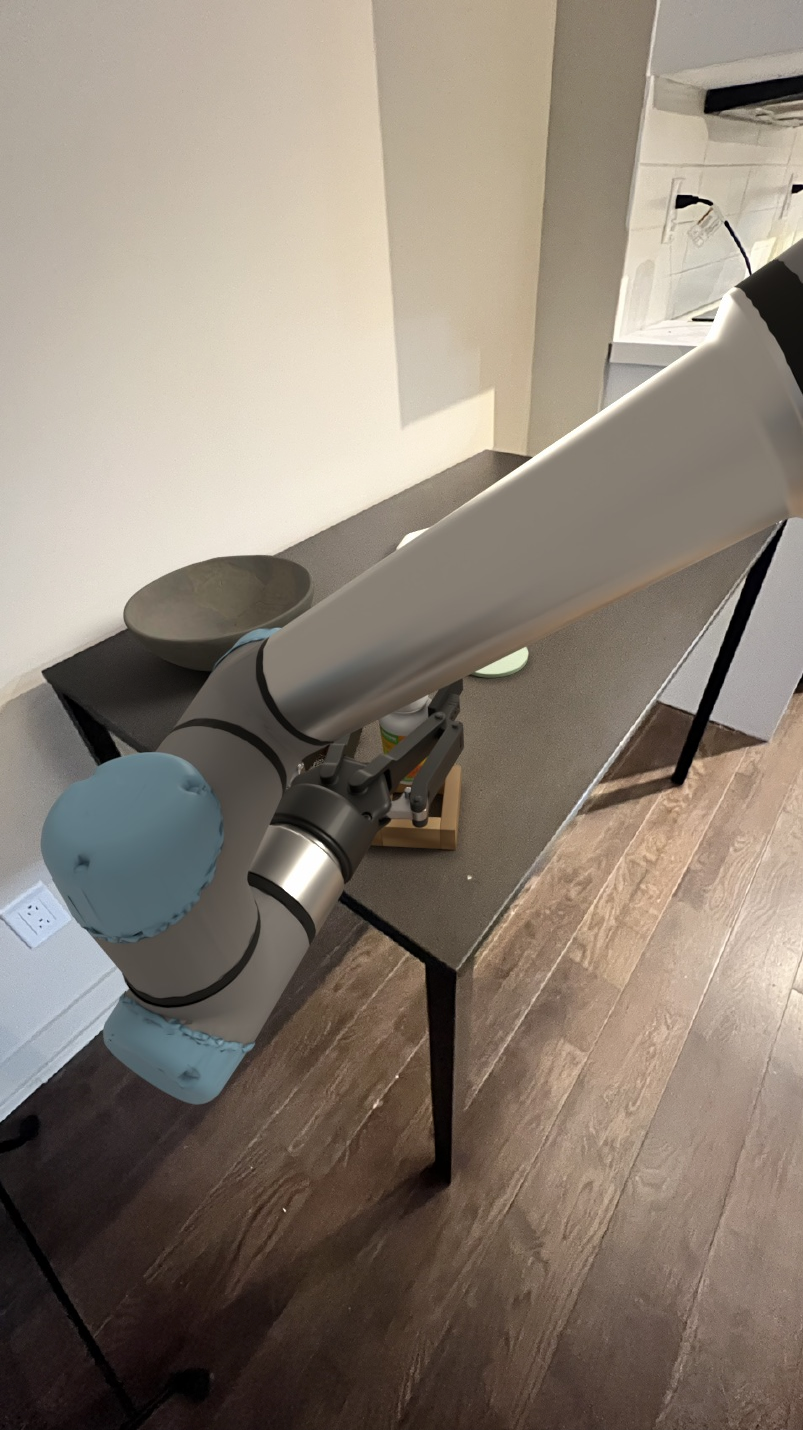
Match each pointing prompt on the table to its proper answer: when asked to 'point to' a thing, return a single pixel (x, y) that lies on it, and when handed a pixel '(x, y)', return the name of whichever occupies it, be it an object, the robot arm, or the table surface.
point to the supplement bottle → (403, 728)
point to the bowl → (216, 606)
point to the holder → (437, 829)
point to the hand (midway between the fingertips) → (428, 672)
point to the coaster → (505, 665)
